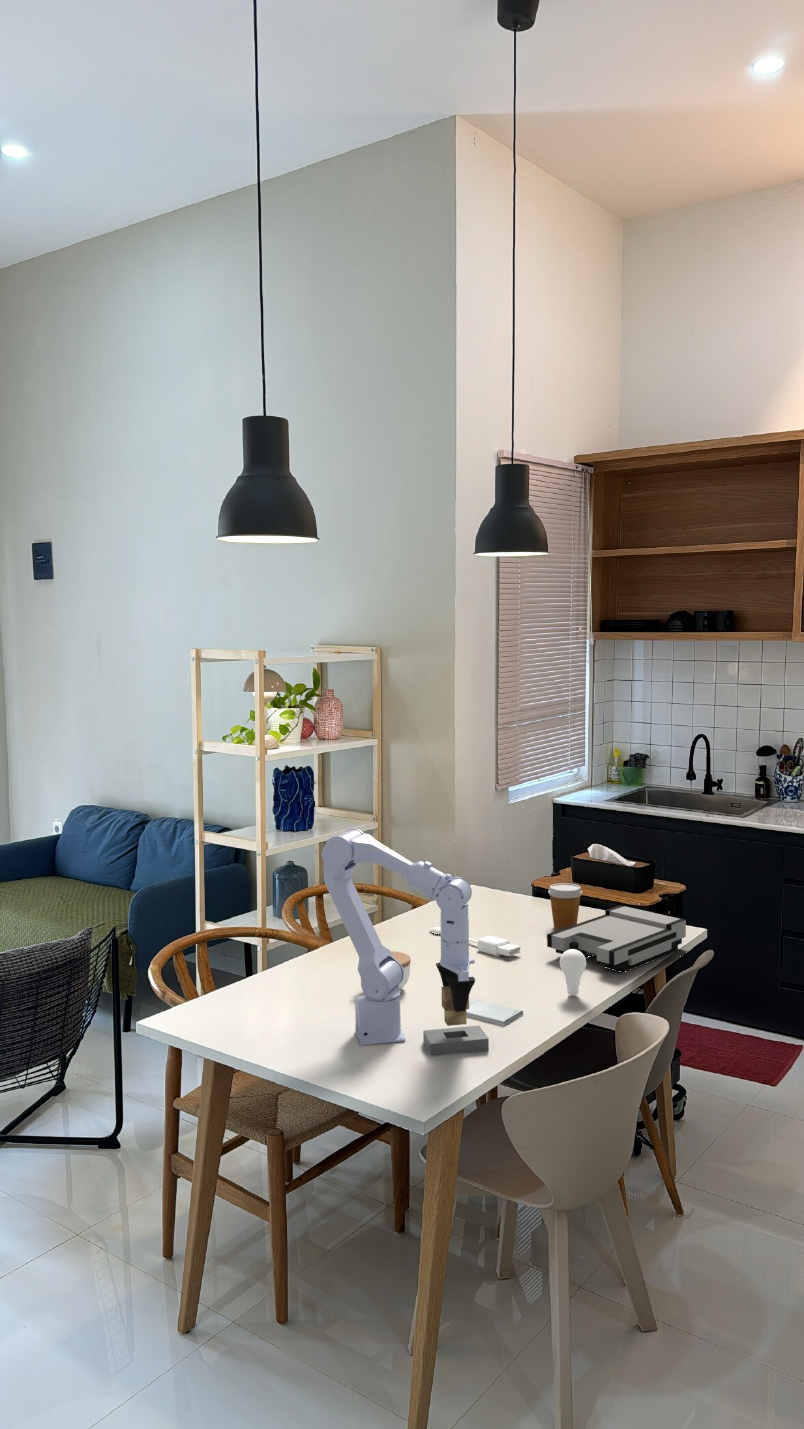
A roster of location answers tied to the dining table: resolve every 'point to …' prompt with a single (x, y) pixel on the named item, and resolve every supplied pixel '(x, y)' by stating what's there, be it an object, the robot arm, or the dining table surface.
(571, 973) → the lightbulb
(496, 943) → the charging cable
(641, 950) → the game console
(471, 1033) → the block
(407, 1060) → the dining table surface
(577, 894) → the disposable coffee cup
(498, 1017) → the hard drive
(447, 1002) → the walnut plug
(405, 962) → the lidded jar
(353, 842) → the robot arm
